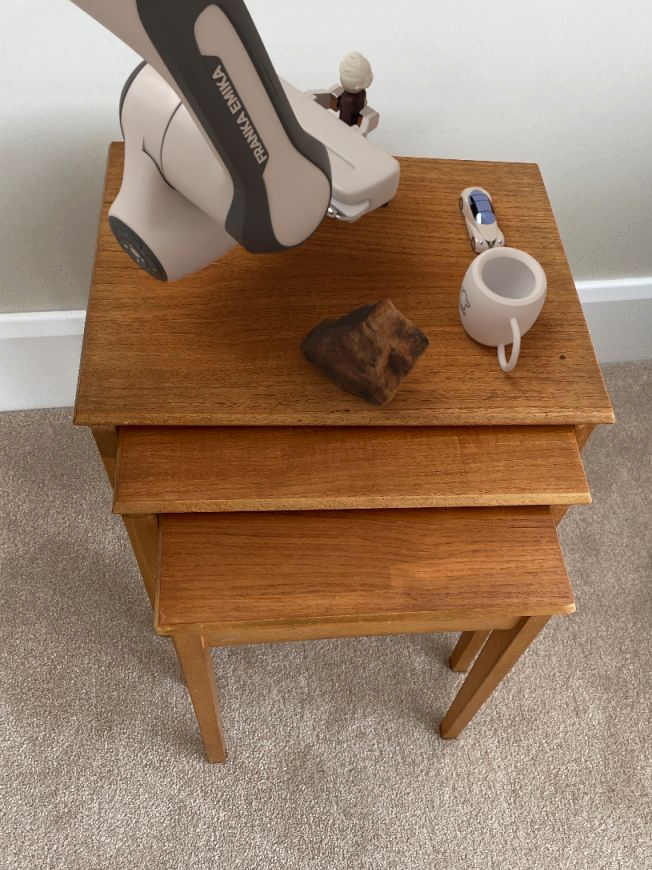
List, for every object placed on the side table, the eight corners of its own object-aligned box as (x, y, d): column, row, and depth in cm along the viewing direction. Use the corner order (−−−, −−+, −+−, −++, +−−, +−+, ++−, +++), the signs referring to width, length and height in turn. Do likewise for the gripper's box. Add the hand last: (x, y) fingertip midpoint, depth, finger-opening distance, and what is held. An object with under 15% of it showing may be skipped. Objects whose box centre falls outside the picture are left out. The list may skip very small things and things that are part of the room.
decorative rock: (420, 387, 79) (441, 319, 70) (387, 428, 77) (404, 362, 67) (323, 327, 81) (330, 252, 71) (288, 365, 78) (291, 292, 69)
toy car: (480, 277, 87) (485, 260, 84) (456, 197, 91) (461, 179, 89) (510, 275, 87) (517, 258, 85) (485, 196, 92) (490, 178, 90)
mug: (445, 294, 85) (461, 241, 78) (519, 294, 86) (542, 241, 79) (463, 387, 80) (482, 339, 73) (542, 384, 81) (568, 337, 74)
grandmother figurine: (332, 138, 88) (341, 27, 76) (365, 145, 88) (380, 35, 76) (321, 187, 84) (329, 79, 73) (356, 193, 84) (370, 87, 73)
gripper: (346, 202, 70) (441, 132, 75) (185, 82, 74) (287, 24, 79) (341, 253, 75) (429, 184, 81) (191, 139, 79) (286, 81, 85)
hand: (358, 104), depth 80 cm, fingers closed on grandmother figurine, 3 cm apart
